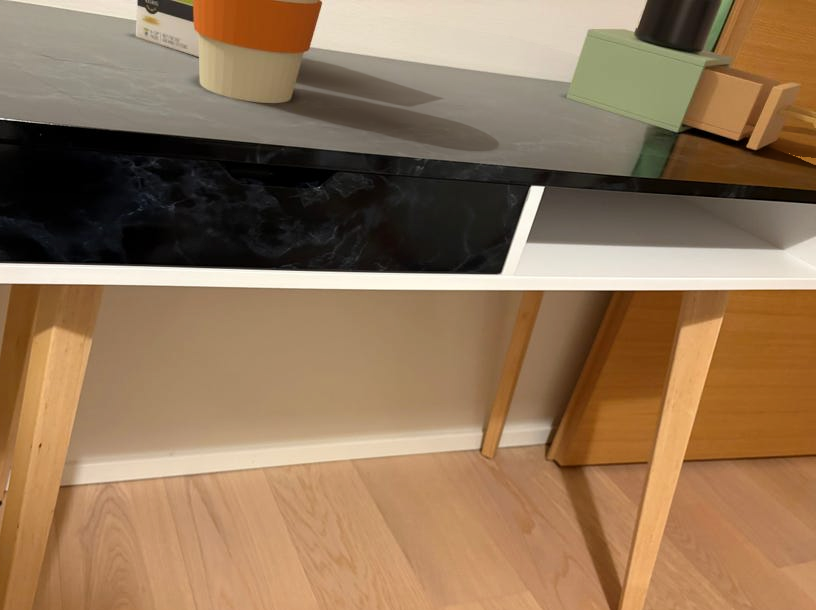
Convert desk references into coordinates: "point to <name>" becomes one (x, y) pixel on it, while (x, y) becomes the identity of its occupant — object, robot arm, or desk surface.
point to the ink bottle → (677, 23)
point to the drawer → (744, 105)
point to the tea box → (168, 24)
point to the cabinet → (639, 77)
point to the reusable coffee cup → (253, 46)
